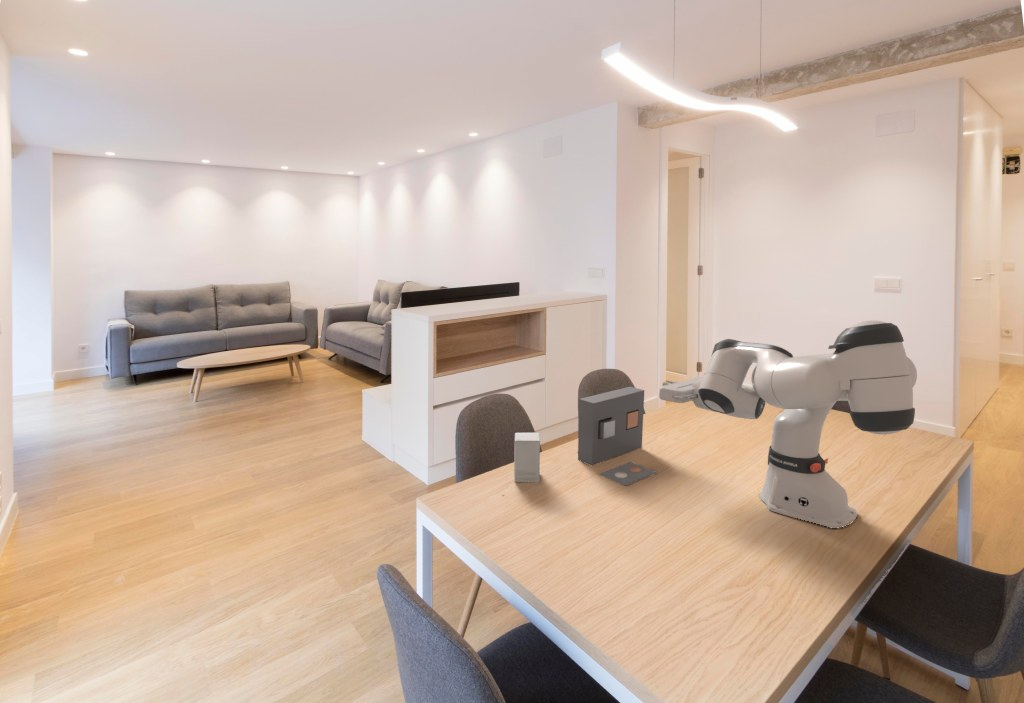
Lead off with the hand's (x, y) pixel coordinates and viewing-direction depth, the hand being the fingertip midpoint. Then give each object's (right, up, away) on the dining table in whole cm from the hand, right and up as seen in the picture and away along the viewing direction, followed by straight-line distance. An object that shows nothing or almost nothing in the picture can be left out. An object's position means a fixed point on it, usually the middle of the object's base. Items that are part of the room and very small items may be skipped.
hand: (665, 384), depth 164 cm
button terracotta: (-8, -15, +15) cm, 23 cm away
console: (-14, -24, +14) cm, 31 cm away
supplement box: (-42, -27, -3) cm, 50 cm away
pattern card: (-11, -27, -1) cm, 29 cm away
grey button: (-17, -16, +6) cm, 24 cm away
